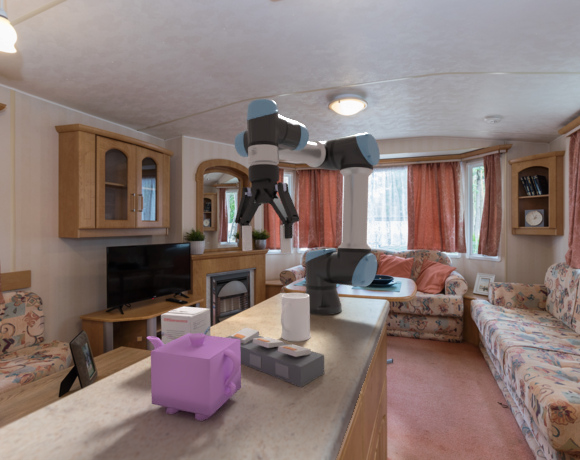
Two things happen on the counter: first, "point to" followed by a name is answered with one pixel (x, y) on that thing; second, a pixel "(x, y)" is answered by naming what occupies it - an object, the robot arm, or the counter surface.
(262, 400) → the counter surface
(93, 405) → the counter surface
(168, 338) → the ink box
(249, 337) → the rocker
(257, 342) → the rocker
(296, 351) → the rocker
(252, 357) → the power strip
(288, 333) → the mug
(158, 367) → the teapot
